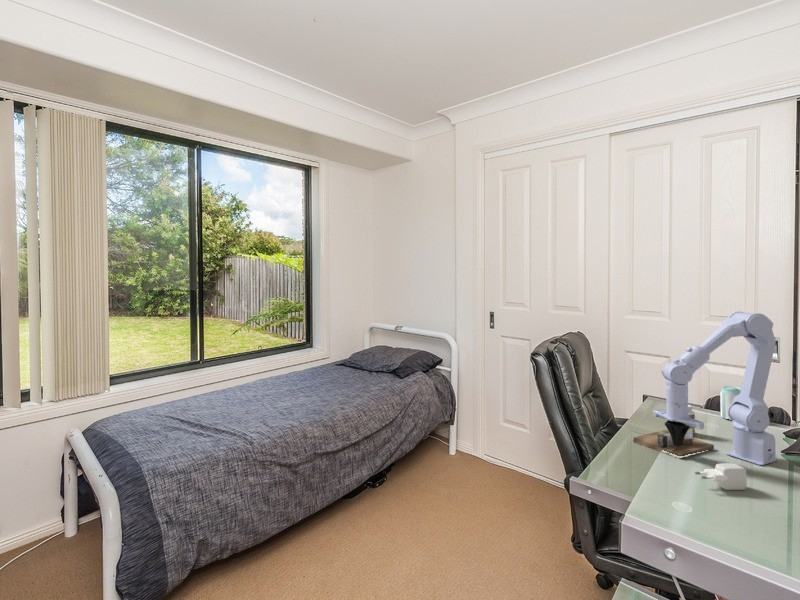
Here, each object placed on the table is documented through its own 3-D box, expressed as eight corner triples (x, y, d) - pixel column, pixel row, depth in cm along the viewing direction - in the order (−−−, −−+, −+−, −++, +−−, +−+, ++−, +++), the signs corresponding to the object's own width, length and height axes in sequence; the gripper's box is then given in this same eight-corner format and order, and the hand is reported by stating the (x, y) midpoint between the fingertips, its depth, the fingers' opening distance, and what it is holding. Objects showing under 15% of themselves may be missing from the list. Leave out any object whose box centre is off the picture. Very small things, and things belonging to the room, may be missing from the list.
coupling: (679, 437, 141) (679, 422, 141) (696, 442, 136) (696, 427, 136) (652, 444, 136) (651, 429, 136) (668, 450, 131) (668, 434, 131)
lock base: (713, 449, 134) (713, 444, 134) (680, 459, 128) (680, 454, 128) (665, 433, 149) (665, 429, 149) (633, 441, 143) (633, 437, 143)
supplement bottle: (693, 437, 145) (692, 408, 144) (674, 434, 149) (673, 405, 148) (696, 433, 148) (696, 404, 148) (678, 429, 152) (677, 402, 152)
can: (732, 415, 165) (732, 385, 165) (748, 421, 158) (748, 389, 158) (716, 416, 165) (715, 386, 165) (731, 422, 158) (731, 390, 158)
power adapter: (704, 492, 108) (704, 470, 108) (692, 483, 113) (692, 462, 113) (749, 491, 108) (749, 469, 107) (735, 482, 112) (735, 461, 112)
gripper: (646, 398, 135) (647, 440, 136) (692, 410, 122) (693, 456, 122) (661, 395, 138) (662, 436, 139) (708, 406, 125) (708, 451, 125)
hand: (677, 445), depth 131 cm, fingers closed
